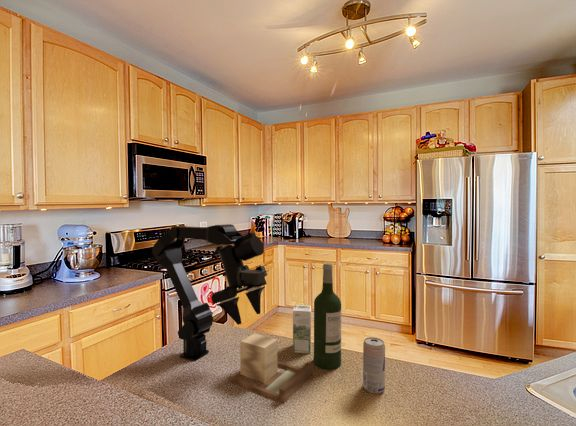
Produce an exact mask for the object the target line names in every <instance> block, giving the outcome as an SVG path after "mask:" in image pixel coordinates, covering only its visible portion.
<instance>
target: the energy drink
mask: <svg viewBox="0 0 576 426" xmlns="http://www.w3.org/2000/svg"><path fill="white" fill-rule="evenodd" d="M362 345H363V347H362V349H363V351H362V354H363V355H362V364H363V365H362V366H363V367H362V376H363V377H362V386H363V388H364V390H365V391H367V392H368V393H371V394H382V393H383V392H384V391H385V389H386V377H385V376H386V345H385V341H384V340H383V339H381V338H378V337H373V336H370V337H369V336H368V337H366V338H364V339H363V344H362Z"/></svg>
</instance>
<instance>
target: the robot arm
mask: <svg viewBox="0 0 576 426" xmlns="http://www.w3.org/2000/svg"><path fill="white" fill-rule="evenodd" d="M186 239H188V240H189V239H190V240H203V241H206V242H208V243H210V244H212V245H216V248H215V250H214V251H213V256H219V257H220V261H221V265H222V267H223V270H224V272H221V275H222V277H226V280H227V285H228V286H226V287H225V288H224V289H221V290H218V291H216V292H212V295H211V297H210V298H211V301H212V304H213V305H215V304H216V307H220V308H221V309H222V310H223V311H225V313H226V314H227V315H229V317H230V318H231V319H232V320H233V321H234V322H235V324H237V325H238V326H239V325H242V318H241V315H240V314H241V313H240V309H239V305H238V302H239V300H240V297H239V296H237V295H238V294H240V293H242V292H245V291H246V292H245V295H246V297H247V299H248V301H249V303H250V304H251V307H252V308H253V311H254V312H255V313H256V314H257V315H261V297H262V292H263V291H264V290H265V288H266V285H268V284H267V279H266V276H268V273H267V270H266V267H265V265H258V266H256V268H254V269H250V267H249V266H248V265H247V264H244V262H245V261H249V260H251V259H253V258H257V257H259V256H261V255H263V254H264V252H265V245H264V242H263V241H262V239H261V238H260V237H259V236H257V234H256V232H255V231H253V232H252V231H251V232H248V233H247V234H245V235H243V234H242V233H240V232H239V231H238V230H237V229H236V227H235V225H234V224H228V223H226V224H215V225H210V226H209V225H208V226H187V225H186V226H185V225H174V226H172V227H170V228H169V230H168V231H167V232H166V233H165V234H162V236H161V237H159V238H158V239H157V240H156V242H154V244H153V246H152V248H151V251H152V252H151V253H152V255H153V257H154V258H155V260H156V262H157V263H158V264H159V265H160V266H162V267H163V268H165V269H166V271H167V274H168V276H169V278H170V279H169V280H170V281H171V283H172V285H173V288H174V290H175V292H176V294H177V297H178V299H179V301H180V303H181V305H182V308H183V310H182V322H183V325H182V326H181V327H180V328H179V330H178V331H177V336H178V339H180V340H183V341H182V342H183V344H182V345H183V352H182V353H181V354H179V357H180V358H184V359H187V360H190V361H197V360H199V359H201V358H202V357H203V356H205V355H207V354H208V353H209V352H210V350H209V349H207V340H206V334H207V333H209V332H210V330H211V327H212V326H213V322H214V316H213V314H214V313H213V311H212V310H211V307H210V305H209V303H208V302H204V303H202V302H201V301H200V300H199V298H198V296H197V294H196V291H195V289H194V288H193V287H194V286H193V284H192V283H191V281H190V279H189V277H188V275H187V273H186V270H185V267H184V266H183V263H182V256H183V251H182V248H183V247H184V245H185V244H186V243H185V242H186ZM217 245H218V246H217ZM219 245H220V246H219ZM222 245H225V246H222Z"/></svg>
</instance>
